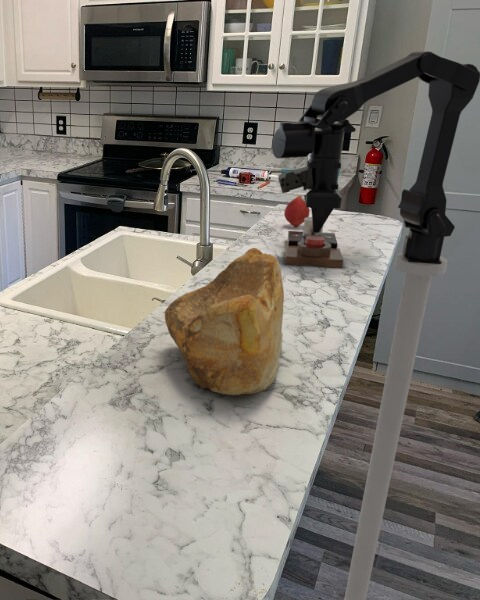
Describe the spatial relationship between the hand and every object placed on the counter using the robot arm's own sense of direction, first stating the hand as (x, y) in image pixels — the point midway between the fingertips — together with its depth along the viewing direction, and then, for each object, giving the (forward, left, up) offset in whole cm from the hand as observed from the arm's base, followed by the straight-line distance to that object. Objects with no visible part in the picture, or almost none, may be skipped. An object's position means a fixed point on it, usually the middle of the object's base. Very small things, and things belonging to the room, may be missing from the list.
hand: (316, 232), depth 127 cm
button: (0, 0, -3) cm, 3 cm away
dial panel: (0, -9, -6) cm, 11 cm away
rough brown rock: (+15, +51, -6) cm, 53 cm away
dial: (0, -9, -4) cm, 10 cm away
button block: (0, 0, -6) cm, 6 cm away
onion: (+3, -26, -6) cm, 27 cm away
